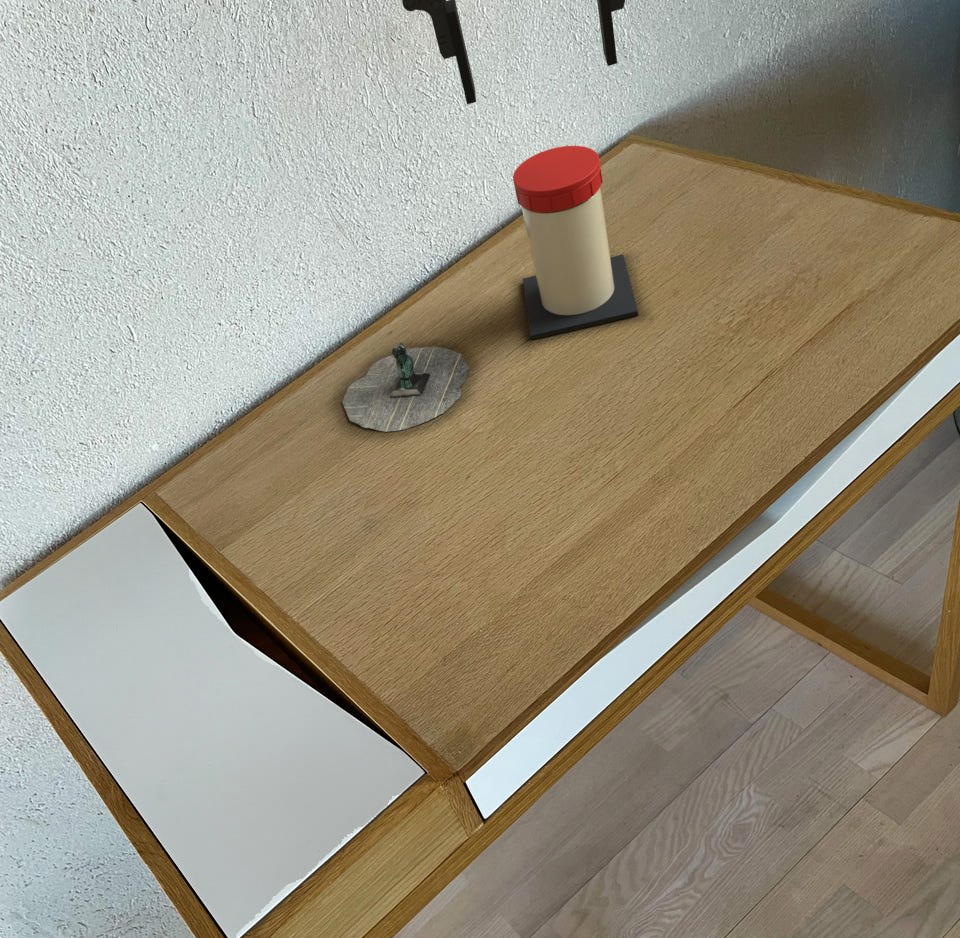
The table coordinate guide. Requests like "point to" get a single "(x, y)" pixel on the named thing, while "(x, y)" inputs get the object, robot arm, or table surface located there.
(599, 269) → the jar
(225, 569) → the table surface
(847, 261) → the table surface
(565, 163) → the lid
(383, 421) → the sculpture
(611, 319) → the mat
